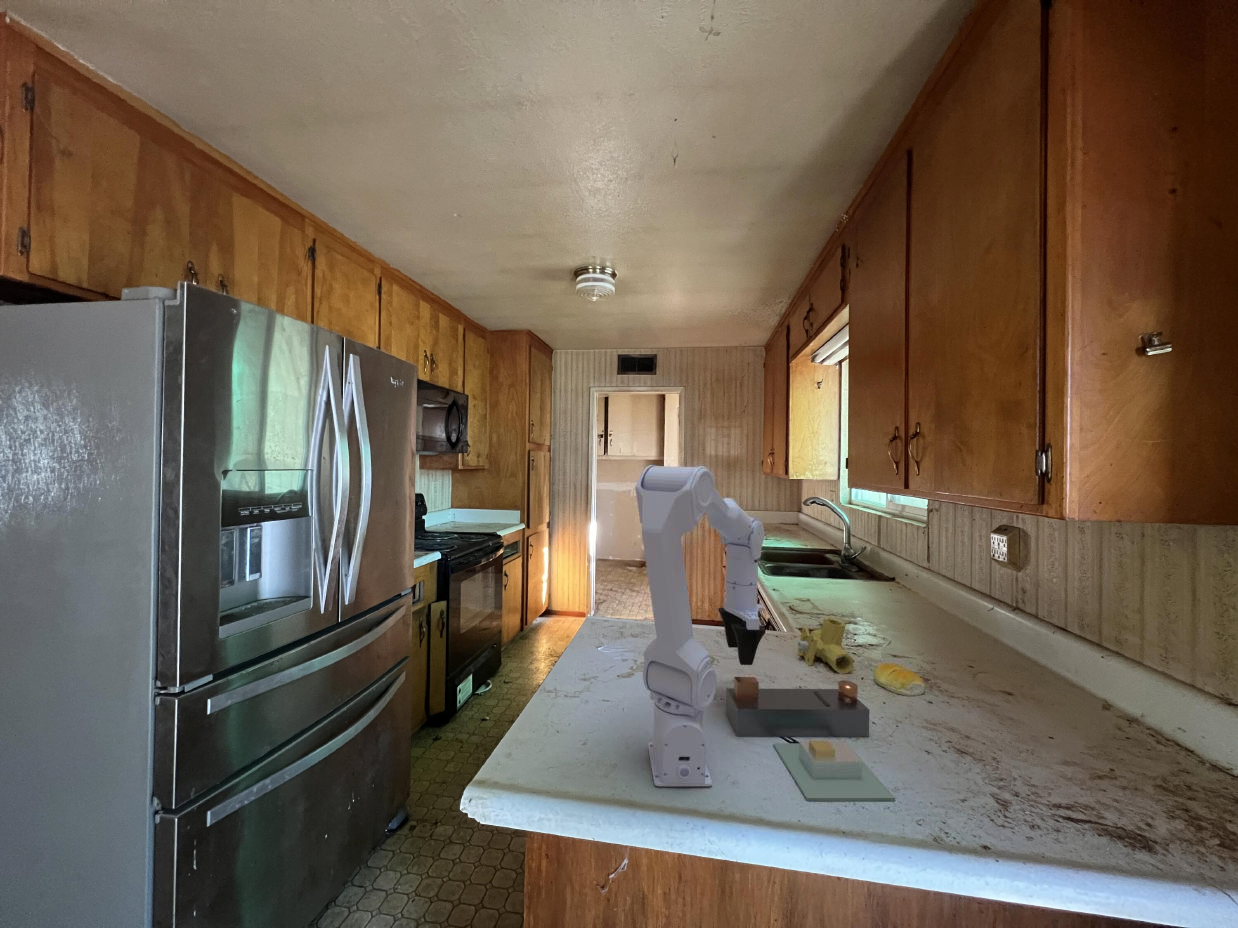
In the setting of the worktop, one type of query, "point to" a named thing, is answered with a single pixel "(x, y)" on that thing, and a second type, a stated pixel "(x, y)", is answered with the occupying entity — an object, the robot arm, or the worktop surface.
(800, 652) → the yellow pipe fitting
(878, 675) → the bread roll
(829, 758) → the lever cap
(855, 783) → the rubber mat
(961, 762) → the worktop surface
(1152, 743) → the worktop surface
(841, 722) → the hand plane
